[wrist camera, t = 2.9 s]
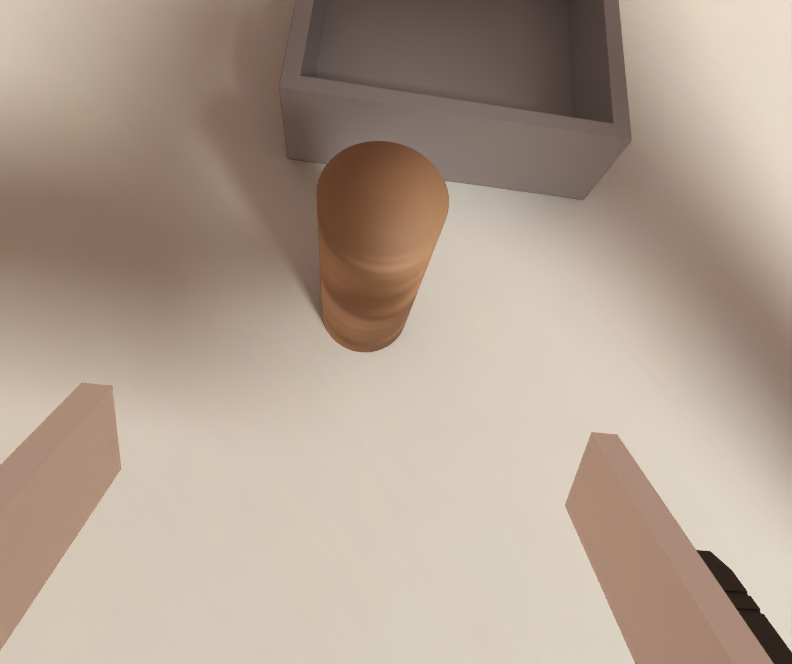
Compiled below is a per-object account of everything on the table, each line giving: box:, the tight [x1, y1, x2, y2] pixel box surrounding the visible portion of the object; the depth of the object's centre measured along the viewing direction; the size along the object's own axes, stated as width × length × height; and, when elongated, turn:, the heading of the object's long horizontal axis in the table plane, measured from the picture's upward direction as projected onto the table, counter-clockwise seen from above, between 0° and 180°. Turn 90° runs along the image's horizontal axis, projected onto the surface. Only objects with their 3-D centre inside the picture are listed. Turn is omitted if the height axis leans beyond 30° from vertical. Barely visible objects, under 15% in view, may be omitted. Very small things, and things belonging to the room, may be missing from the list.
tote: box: [279, 0, 631, 200], centre depth 35 cm, size 20×20×6 cm
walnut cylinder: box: [317, 141, 449, 352], centre depth 25 cm, size 5×5×12 cm
